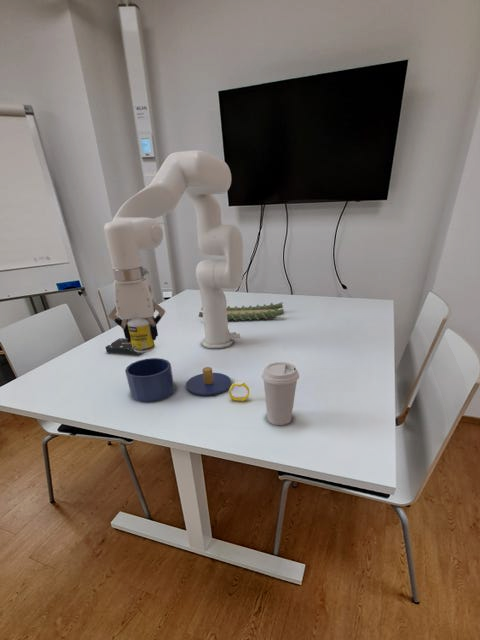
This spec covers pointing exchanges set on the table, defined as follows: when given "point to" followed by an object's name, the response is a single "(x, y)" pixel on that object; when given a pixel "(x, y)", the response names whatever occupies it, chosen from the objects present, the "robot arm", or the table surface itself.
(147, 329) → the pill bottle
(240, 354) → the table surface
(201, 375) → the lid
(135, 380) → the tin
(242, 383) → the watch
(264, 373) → the coffee cup
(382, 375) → the table surface
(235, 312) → the green spiky bar
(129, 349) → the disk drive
